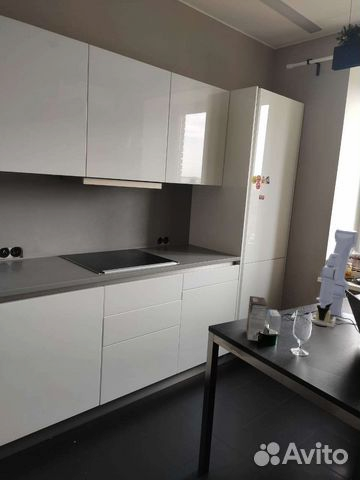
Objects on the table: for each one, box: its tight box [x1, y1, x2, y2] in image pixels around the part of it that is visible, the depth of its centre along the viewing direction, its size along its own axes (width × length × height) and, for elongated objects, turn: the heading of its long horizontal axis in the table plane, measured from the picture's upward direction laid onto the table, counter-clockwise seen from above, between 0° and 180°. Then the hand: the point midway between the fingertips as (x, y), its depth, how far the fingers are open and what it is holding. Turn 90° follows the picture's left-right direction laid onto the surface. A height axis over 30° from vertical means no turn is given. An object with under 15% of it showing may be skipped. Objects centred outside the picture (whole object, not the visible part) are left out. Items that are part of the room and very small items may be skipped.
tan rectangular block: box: [315, 309, 331, 323], centre depth 173 cm, size 3×6×6 cm, turn 60°
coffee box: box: [245, 295, 268, 342], centre depth 151 cm, size 9×6×16 cm
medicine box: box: [265, 309, 282, 336], centre depth 158 cm, size 8×4×9 cm, turn 179°
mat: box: [290, 311, 313, 319], centre depth 178 cm, size 9×9×1 cm
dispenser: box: [310, 314, 337, 328], centre depth 173 cm, size 7×11×3 cm, turn 60°
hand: (322, 317), depth 173 cm, fingers open, 7 cm apart
